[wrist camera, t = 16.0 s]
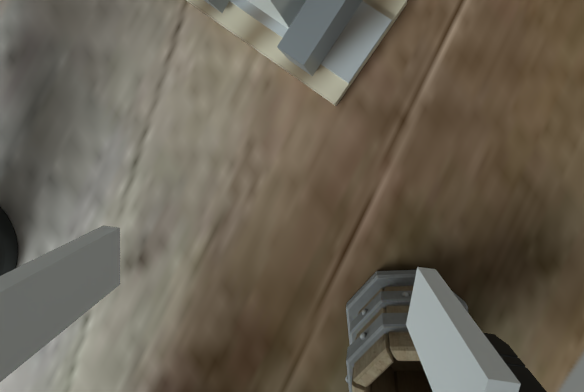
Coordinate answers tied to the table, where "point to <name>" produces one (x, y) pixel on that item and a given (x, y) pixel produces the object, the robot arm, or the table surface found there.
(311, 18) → the mounted modules
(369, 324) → the tankard
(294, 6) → the block
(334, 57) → the mounting board
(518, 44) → the table surface
